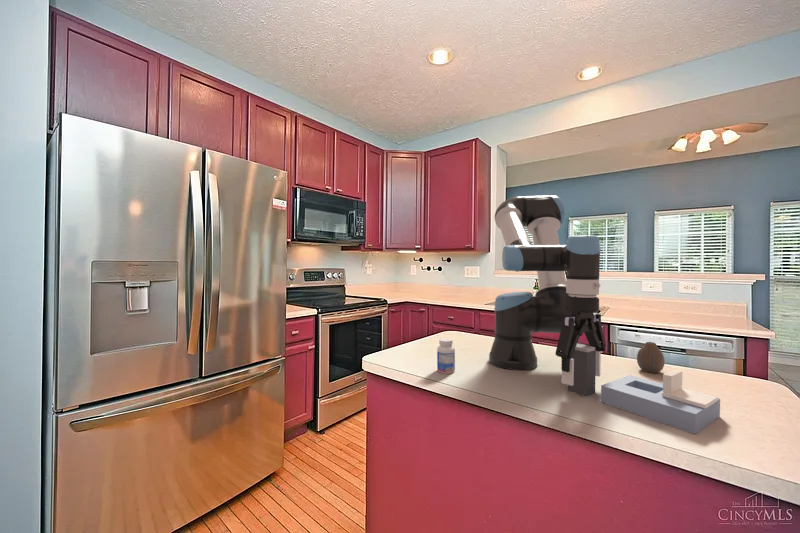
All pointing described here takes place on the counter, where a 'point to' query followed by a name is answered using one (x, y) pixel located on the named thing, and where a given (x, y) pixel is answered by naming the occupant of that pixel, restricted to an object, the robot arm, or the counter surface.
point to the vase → (650, 358)
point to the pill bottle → (445, 356)
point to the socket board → (657, 404)
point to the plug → (584, 370)
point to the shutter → (684, 391)
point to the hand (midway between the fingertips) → (581, 379)
